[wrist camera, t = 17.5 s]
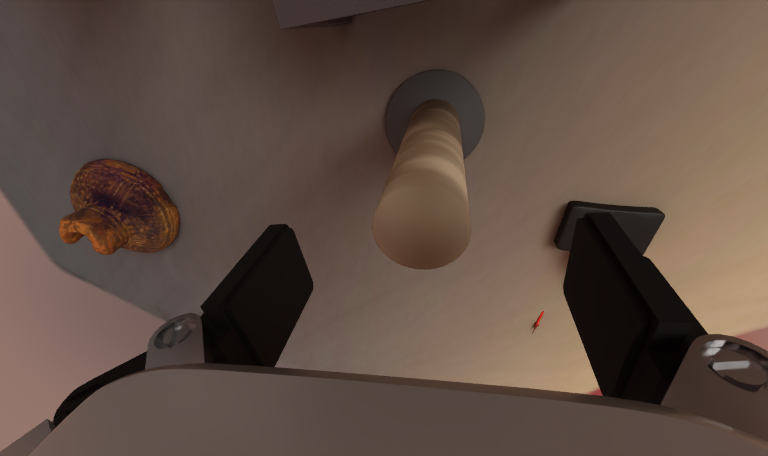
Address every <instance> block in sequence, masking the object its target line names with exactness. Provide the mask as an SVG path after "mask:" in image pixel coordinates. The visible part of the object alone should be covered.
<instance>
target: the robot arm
mask: <svg viewBox="0 0 768 456" xmlns="http://www.w3.org/2000/svg"><path fill="white" fill-rule="evenodd" d="M563 290H564V295H565V298H566V301H567V303H568V306H569V309H570V311H571V314H572V317H573V319H574V322H575V324H576V327H577V330H578V332H579V335H580V337H581V340H582V343H583V345H584V348H585V351H586V353H587V356H588V358H589V361H590V364H591V366H592V369H593V372H594V374H595V377H596V379H597V382H598V385H599V387H600V390H601V392H602V395H603V396H598V395H589V394H579V393H569V392H560V391H550V390H540V389H530V388H519V387H508V386H496V385H485V384H473V383H462V382H450V381H439V380H427V379H415V378H403V377H391V376H379V375H367V374H354V373H342V372H330V371H317V370H304V369H291V368H277V367H275V365H276V363H277V361H278V359H279V357H280V355H281V353H282V351H283V349H284V347H285V345H286V343H287V341H288V339H289V337H290V335H291V333H292V331H293V329H294V327H295V325H296V323H297V321H298V319H299V317H300V315H301V313H302V311H303V309H304V307H305V305H306V303H307V301H308V299H309V297H310V295H311V293H312V291H313V281H312V278H311V275H310V273H309V270H308V267H307V265H306V262H305V259H304V257H303V254H302V252H301V249H300V246H299V244H298V241H297V238H296V236H295V233H294V231H293V229H292V228H289V226H288V225H286V224H276V225H270V226H268V228H267V229H266V230H265V231H264V232H263V233H262V235H261V236H260V237H259V238H258V239H257V241H256V242H255V243H254V244H253V245H252V246H251V248H250V249H249V250H248V251H247V252H246V254H245V255H244V256H243V257H242V258H241V259H240V261H239V262H238V263H237V264H236V265H235V266H234V268H233V269H232V270H231V271H230V272H229V274H228V275H227V276H226V277H225V278H224V279H223V281H222V282H221V283H220V284H219V285H218V287H217V288H216V289H215V290H214V291H213V292H212V294H211V295H210V296H209V297H208V298H207V300H206V301H205V302H204V303H203V304H202V305H201V309H202V310H203V311H204V313H203V315H202V316H201V317H200V316H199V315H197V314H194V313H188V314H183V315H180V316H177V317H175V318H173V319H171V320H169V321H167V322H166V323H165V324H163V325H162V326H161V327H160V328H159V329H158V330H157V331H156V332H155V333H154V334H153V335H152V337H151V338H150V341H149V344H148V349H147V351H146V352H144V353H143V354H140V355H139V356H137V357H135V358H133V359H131V360H129V361H127V362H125V363H123V364H121V365H119V366H117V367H115V368H113V369H111V370H110V371H108V372H106V373H104V374H102V375H100V376H98V377H96V378H94V379H92V380H90V381H88V382H87V383H85V384H83V385H82V386H80V387H78V388H77V389H75V390H74V391H73V392H72V393H71V394H70V395H69V396H68V397H67V398H66V399H65V400H64V401H63V403H62V404H61V405H60V407H59V408H58V409H57V411H56V413H55V416H54V420H53V421H52V422H51V421H50V420H48V419H46V420H45V421H43V422H42V423H41V424H39V425H38V426H36V427H35V428H33V429H32V430H31V431H29V432H28V433H26V434H25V435H24V436H22V437H21V438H19V439H18V440H16V441H15V442H13V443H12V444H11V445H9V446H8V447H6V448H5V449H3V450H2V451H1V452H0V456H768V351H766V350H765V349H762V348H761V347H759V346H756V345H754V344H752V343H750V342H748V341H745V340H742V339H739V338H736V337H732V336H727V335H721V334H708V333H707V332H706V331H705V329H704V328H703V327H702V326H701V324H700V323H699V322H698V320H697V319H696V318H695V317H694V315H693V314H692V313H691V311H690V310H689V309H688V308H687V306H686V305H685V304H684V302H683V301H682V300H681V298H680V297H679V296H678V295H677V293H676V292H675V291H674V289H673V288H672V287H671V286H670V284H669V283H668V282H667V280H666V279H665V278H664V277H663V275H662V274H661V273H660V271H659V270H658V269H657V268H656V266H655V265H654V264H653V262H652V261H651V260H650V259H649V258H647V257H644V256H642V254H641V253H640V252H639V250H638V249H637V248H636V246H635V245H634V244H633V242H632V241H631V240H630V238H629V237H628V236H627V235H626V233H625V232H624V231H623V229H622V228H621V227H620V225H619V224H618V223H617V221H616V220H615V219H614V217H613V216H612V215H611V214H610V213H609V212H598V213H586V214H585V215H584V216H583V218H578V219H577V221H576V225H575V230H574V235H573V240H572V245H571V250H570V255H569V260H568V264H567V269H566V274H565V279H564V285H563Z"/></svg>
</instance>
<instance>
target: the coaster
mask: <svg viewBox="0 0 768 456" xmlns="http://www.w3.org/2000/svg"><path fill="white" fill-rule="evenodd" d="M430 99H441V100H444V101H447V102H448V103H450V104H451V105H452V106H453V107H454V108H455V109H456V111H457V113H458V117H459V123H460V132H461V142H462V151H463V160H464V159H465V158H466V157H467V156H468V155H469V154H470V153H471V152H472V151H473V150H474V148H475V147H476V145H477V144H478V142H479V140H480V138H481V135H482V132H483V127H484V109H483V105H482V102H481V99H480V97H479V95H478V93H477V91H476V90H475V89H474V87H473V86H472V85H471V84H470V83H469V82H468V81H467V80H466V79H464V78H463V77H461V76H459V75H458V74H455V73H452V72H449V71H444V70H430V71H426V72H422V73H419V74H417V75H415V76H413V77H411V78H410V79H408V80H407V81H406V82H404V83H403V84H402V85H401V86H400V87H399V89H398V90H397V91H396V92H395V94H394V96H393V97H392V99H391V101H390V104H389V106H388V110H387V115H386V130H387V135H388V138H389V141H390V143H391V145H392V147H393V149H394V150H395V152H396V153H397V154H398V151H399V148H400V146H401V143H402V140H403V138H404V135H405V132H406V130H407V127H408V124H409V122H410V119H411V116H412V114H413V112H414V110H415V109H416V108H417V107H418V106H419V105H420V104H421V103H423V102H425V101H427V100H430Z"/></svg>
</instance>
